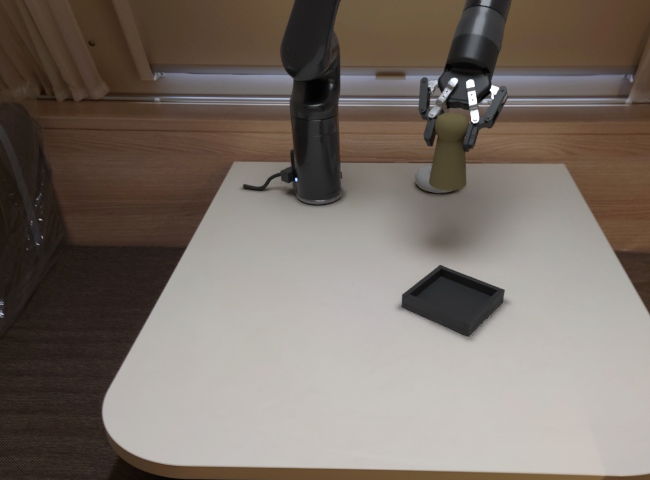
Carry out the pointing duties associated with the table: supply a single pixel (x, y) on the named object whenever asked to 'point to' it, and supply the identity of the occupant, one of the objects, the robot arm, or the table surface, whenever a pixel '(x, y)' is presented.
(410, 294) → the tray
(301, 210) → the table surface
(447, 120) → the brown pawn piece
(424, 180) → the donut
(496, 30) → the robot arm
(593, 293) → the table surface
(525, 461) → the table surface
